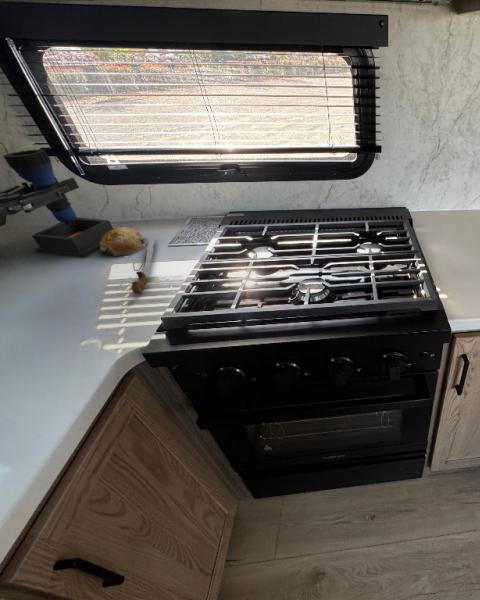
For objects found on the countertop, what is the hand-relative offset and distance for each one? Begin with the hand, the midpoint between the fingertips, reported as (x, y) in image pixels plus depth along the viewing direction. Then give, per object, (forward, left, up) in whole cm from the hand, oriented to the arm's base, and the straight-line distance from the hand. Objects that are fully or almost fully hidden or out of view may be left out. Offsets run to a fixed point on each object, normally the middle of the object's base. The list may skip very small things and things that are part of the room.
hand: (65, 182), depth 95 cm
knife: (+28, -13, -17) cm, 35 cm away
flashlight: (0, -5, -11) cm, 12 cm away
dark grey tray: (0, -5, -17) cm, 17 cm away
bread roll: (+14, -5, -17) cm, 23 cm away
